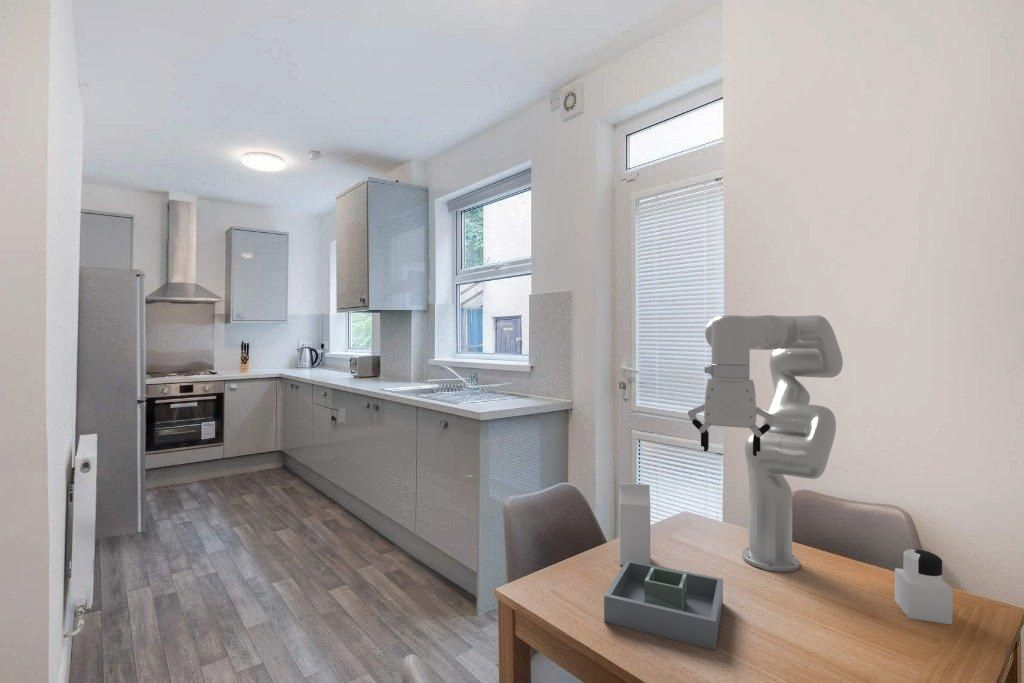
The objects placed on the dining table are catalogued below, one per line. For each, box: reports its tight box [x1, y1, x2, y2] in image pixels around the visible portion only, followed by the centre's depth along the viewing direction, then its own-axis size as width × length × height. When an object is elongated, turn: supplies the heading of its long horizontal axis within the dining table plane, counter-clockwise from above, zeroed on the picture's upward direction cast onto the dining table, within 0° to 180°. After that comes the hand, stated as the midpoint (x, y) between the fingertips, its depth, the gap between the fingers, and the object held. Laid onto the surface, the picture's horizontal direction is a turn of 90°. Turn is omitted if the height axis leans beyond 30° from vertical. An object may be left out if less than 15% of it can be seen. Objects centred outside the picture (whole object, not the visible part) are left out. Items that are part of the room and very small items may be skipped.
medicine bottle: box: [894, 548, 953, 626], centre depth 101 cm, size 7×7×12 cm
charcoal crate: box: [603, 560, 724, 651], centre depth 101 cm, size 18×20×5 cm
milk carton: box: [619, 482, 651, 566], centre depth 125 cm, size 7×7×19 cm
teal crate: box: [644, 567, 687, 611], centre depth 101 cm, size 7×7×6 cm
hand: (730, 452), depth 109 cm, fingers open, 9 cm apart
